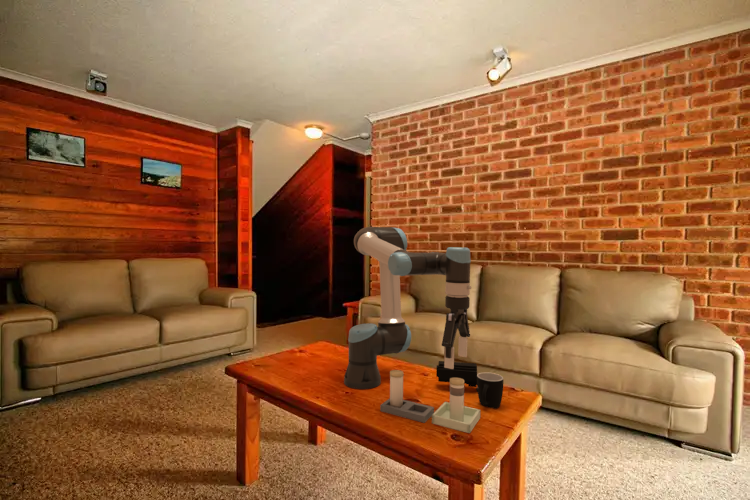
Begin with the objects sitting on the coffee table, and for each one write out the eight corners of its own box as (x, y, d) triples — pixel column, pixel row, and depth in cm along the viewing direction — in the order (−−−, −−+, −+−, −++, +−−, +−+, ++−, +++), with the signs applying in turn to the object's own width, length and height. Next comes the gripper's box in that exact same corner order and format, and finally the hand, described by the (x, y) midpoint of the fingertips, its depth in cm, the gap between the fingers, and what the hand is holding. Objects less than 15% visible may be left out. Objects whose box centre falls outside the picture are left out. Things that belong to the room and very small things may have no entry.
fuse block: (380, 412, 122) (380, 373, 122) (391, 403, 129) (391, 366, 129) (424, 424, 114) (424, 382, 114) (434, 414, 121) (434, 375, 121)
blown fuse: (447, 420, 115) (447, 380, 115) (452, 415, 119) (452, 376, 119) (461, 424, 113) (461, 383, 113) (465, 418, 116) (466, 379, 117)
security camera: (485, 394, 138) (485, 368, 138) (436, 390, 141) (436, 364, 141) (483, 388, 144) (484, 362, 144) (436, 384, 148) (437, 359, 148)
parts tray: (431, 424, 113) (431, 415, 113) (444, 410, 124) (445, 401, 124) (469, 435, 107) (469, 424, 107) (480, 419, 118) (480, 409, 118)
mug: (480, 397, 135) (481, 370, 135) (506, 403, 130) (506, 375, 130) (470, 409, 124) (470, 380, 124) (497, 416, 120) (497, 385, 120)
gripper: (456, 301, 103) (454, 376, 103) (479, 292, 124) (478, 353, 125) (431, 299, 107) (430, 371, 107) (458, 290, 128) (457, 350, 129)
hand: (456, 362), depth 116 cm, fingers open, 13 cm apart
